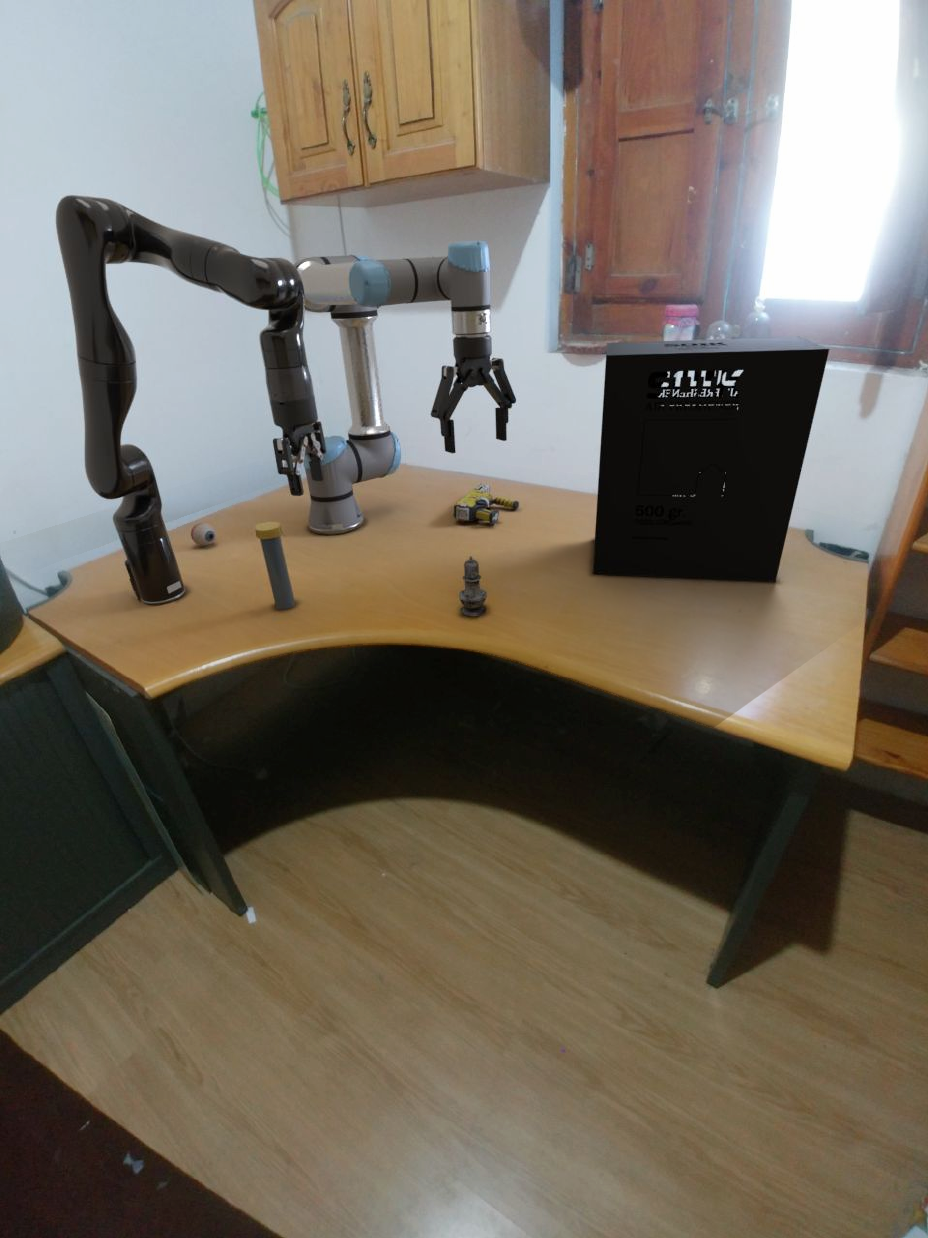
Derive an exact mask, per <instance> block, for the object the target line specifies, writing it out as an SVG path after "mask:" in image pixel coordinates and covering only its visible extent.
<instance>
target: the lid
mask: <svg viewBox="0 0 928 1238" xmlns="http://www.w3.org/2000/svg"><path fill="white" fill-rule="evenodd" d="M254 532H255V536H256V538H257V539H259V540H260V539H272V538H276V537H278V536H280V537H281V535H282V534H283V530H282V526H281V524H280V522H278V521H266V522H262V523H259V524H257V525H256V526H254Z"/></svg>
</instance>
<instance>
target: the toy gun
mask: <svg viewBox="0 0 928 1238" xmlns="http://www.w3.org/2000/svg"><path fill="white" fill-rule="evenodd" d="M493 505H495V506H500V507H504V508H510V509H512V510H514V511H516V510H518V509H519V507H520V502H519V501H518V500H512V499H508V498H504V497H500V496H496V497H495V498H493V496H492V494H491V485H490V484H488V483H486V484H485V483H482V482H481V483H480V484H479V485H477V486H476V487H475V488H473V489H471V491H469V492H468V493H467V494H465V496H464V497H462V498H461V499H460V500H459V501H458V502H456V503H455V504H454V505H453V511H452V513H453V514H452V517H453V518H454V519H455V520H457V522H462V523H464V522H465V521H467V522H471V521H477V520H482V521H483V520H484V521H486V522H489V525H492V526H493V524H495V523H497V522H498V521H499V515H500V509H498V508H494V510H493V509H492V507H491V506H493Z"/></svg>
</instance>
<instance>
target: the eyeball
mask: <svg viewBox="0 0 928 1238" xmlns="http://www.w3.org/2000/svg"><path fill="white" fill-rule="evenodd" d="M216 535H217V534H216V530H215V529H214V527H213V526H212V525H211V524H208V523H206V522H200V523H199V522H198V523H197V524H195V525H193V527H192V528H191V530H190V536H191V540H192V541H193V542H194V543H195V544H196V545H199V546H201V547H207V546H210V545H211V544H213V543H214V541H216V538H217V537H216Z"/></svg>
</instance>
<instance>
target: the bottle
mask: <svg viewBox="0 0 928 1238" xmlns="http://www.w3.org/2000/svg"><path fill="white" fill-rule="evenodd" d="M259 541H260V542H259V543H260V546H261V550H262V554H263V558H264V562H265V567H266V571H267V575H268V578H269V579H268V580H269V584H270V587H271V593H272V596H273V600H274V605H275V608H276V609H277V610H279V611H280V610H281V611H282V610H283V611H285V610H289V609H292V608H293V607H294V606H295V605H296V602H295V597H294V592H293V587H292V583H291V578H290V573H289V569H288V564H287V559H286V555H285V551H284V546H283V542H282V537H281V535H280V536H278V537H276V538H272V539H259Z"/></svg>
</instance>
